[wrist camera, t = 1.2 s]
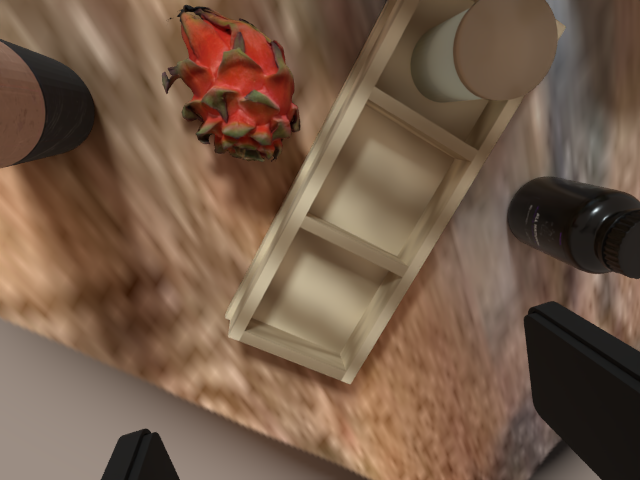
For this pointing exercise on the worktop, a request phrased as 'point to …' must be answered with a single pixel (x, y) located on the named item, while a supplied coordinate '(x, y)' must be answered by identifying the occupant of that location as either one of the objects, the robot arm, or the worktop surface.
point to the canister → (486, 52)
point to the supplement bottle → (579, 224)
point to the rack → (365, 203)
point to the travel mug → (40, 106)
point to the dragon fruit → (235, 85)
